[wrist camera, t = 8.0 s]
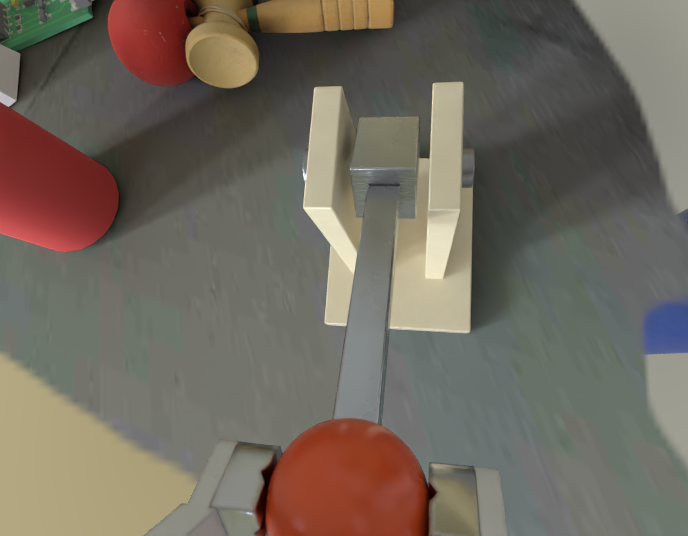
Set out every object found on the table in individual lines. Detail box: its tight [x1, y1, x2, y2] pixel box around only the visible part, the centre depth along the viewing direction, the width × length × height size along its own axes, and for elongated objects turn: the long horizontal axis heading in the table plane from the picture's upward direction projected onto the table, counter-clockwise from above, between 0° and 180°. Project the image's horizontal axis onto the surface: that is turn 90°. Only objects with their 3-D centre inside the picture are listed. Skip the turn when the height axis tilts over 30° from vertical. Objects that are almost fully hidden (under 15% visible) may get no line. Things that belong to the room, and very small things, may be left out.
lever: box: [265, 116, 431, 536], centre depth 13 cm, size 14×4×4 cm, turn 177°
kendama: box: [108, 0, 394, 88], centre depth 29 cm, size 8×6×18 cm
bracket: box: [302, 82, 475, 333], centre depth 21 cm, size 10×8×13 cm
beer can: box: [0, 102, 119, 252], centre depth 25 cm, size 7×7×12 cm
